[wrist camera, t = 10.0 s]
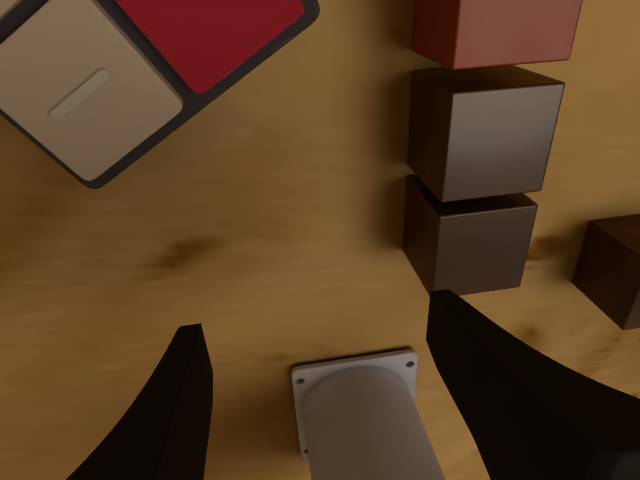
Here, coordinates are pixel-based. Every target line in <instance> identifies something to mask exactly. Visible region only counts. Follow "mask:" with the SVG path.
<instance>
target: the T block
mask: <svg viewBox="0 0 640 480" xmlns="http://www.w3.org/2000/svg"><path fill="white" fill-rule="evenodd" d="M564 87H565V83H564V82H562V81H559V80H556V79H553V78H550V77H547V76H544V75H541V74H538V73H535V72H532V71H529V70H526V69H523V68H520V67H517V66H514V65H505V66H494V67H482V68H470V69H458V70H453V69H450V68H448V67H447V68H436V69H424V70H414V71H413V72H412V83H411V102H410V121H409V140H408V159H407V164H408V165H409V167H410V168H411V169H412V170H413V171H414V172H415V173H416V174H417V176H418V177H419V178H420V179H421V180H422V181H423V182H424V184H425V185H426V186H427V187H428V188H429V189H430V190H431V192H432V193H433V194H434V195H435V196H436V197H437V198H438V199H439V201H440V202H450V201H459V200H467V199H476V198H484V197H493V196H501V195H510V194H518V193H527V192H535V191H541V189H542V185H543V180H544V176H545V171H546V167H547V163H548V158H549V154H550V149H551V145H552V140H553V136H554V131H555V127H556V122H557V118H558V113H559V109H560V104H561V100H562V96H563V91H564Z"/></svg>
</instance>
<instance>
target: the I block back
mask: <svg viewBox="0 0 640 480" xmlns="http://www.w3.org/2000/svg"><path fill="white" fill-rule="evenodd" d="M572 283H573V284H574V285H575V286H576V287H577V288H578V289H579V290H580V291H581V292H582V293H583V294H584V295H585V296H587V297H588V298H589V299H590V300H591V301H592V302H593V303H594V304H595V305H596V306H597V307H598V308H599V309H601V310H602V311H603V312H604V313H605V314H606V315H607V316H608V317H609V318H610V319H611V320H612V321H613V322H615V323H616V324H617V325H618V326H619V327H620V328H621V329H622V330H629V329H635V328H640V215H633V216H625V217H617V218H609V219H601V220H594V221H590V223H589V226H588V230H587V233H586V236H585V240H584V243H583V247H582V250H581V253H580V257H579V260H578V263H577V267H576V270H575V273H574V277H573V280H572Z"/></svg>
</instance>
